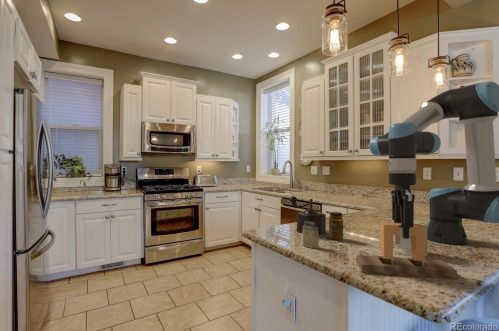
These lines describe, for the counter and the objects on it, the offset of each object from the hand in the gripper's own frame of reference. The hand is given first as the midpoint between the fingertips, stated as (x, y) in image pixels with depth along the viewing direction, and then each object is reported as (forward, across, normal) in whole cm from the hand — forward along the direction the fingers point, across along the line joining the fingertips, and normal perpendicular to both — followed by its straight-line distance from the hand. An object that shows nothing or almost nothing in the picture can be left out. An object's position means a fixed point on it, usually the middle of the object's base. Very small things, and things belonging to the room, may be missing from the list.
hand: (402, 246), depth 85 cm
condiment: (+8, -33, -17) cm, 38 cm away
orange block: (+4, 0, 0) cm, 4 cm away
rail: (+8, 0, 0) cm, 8 cm away
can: (+8, -19, +10) cm, 23 cm away
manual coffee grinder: (+8, -43, -29) cm, 52 cm away
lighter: (+8, -20, -28) cm, 35 cm away
